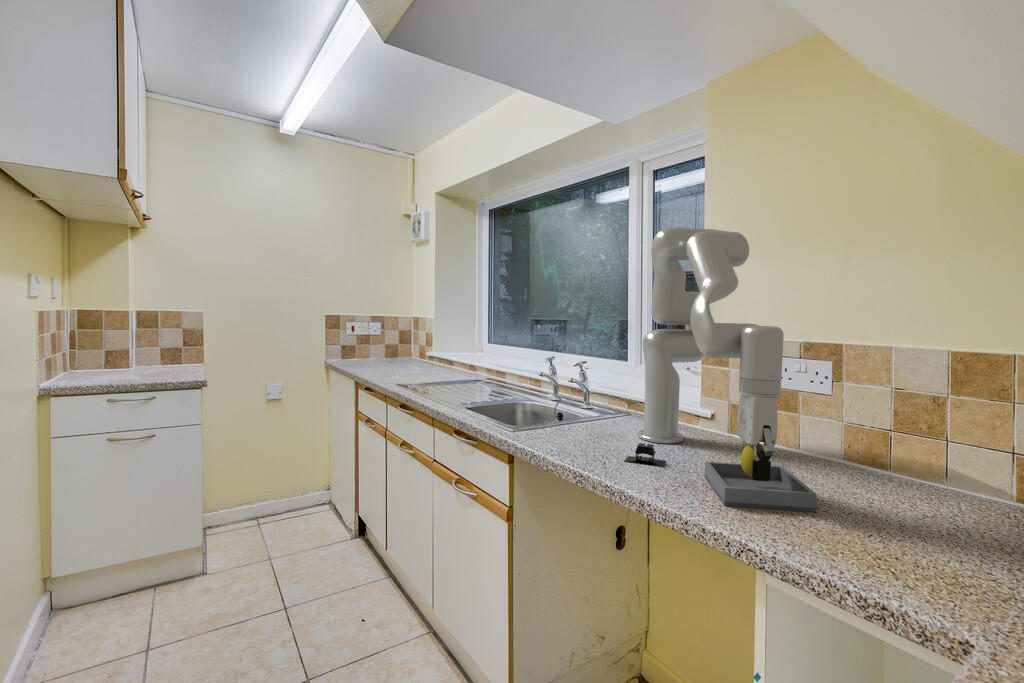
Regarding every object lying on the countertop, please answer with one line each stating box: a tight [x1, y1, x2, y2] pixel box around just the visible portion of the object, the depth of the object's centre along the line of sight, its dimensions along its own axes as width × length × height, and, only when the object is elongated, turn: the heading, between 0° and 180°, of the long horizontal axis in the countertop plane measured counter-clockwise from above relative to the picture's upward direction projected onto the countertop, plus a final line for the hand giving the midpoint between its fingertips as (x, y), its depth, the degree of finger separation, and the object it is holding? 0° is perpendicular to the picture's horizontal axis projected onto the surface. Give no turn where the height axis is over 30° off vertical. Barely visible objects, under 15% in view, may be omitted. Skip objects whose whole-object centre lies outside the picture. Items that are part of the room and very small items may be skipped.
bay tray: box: [704, 461, 817, 513], centre depth 98 cm, size 16×16×4 cm
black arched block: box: [623, 442, 667, 468], centre depth 118 cm, size 12×7×5 cm, turn 66°
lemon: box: [740, 442, 771, 478], centre depth 98 cm, size 6×6×8 cm
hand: (755, 474), depth 98 cm, fingers closed on lemon, 5 cm apart
